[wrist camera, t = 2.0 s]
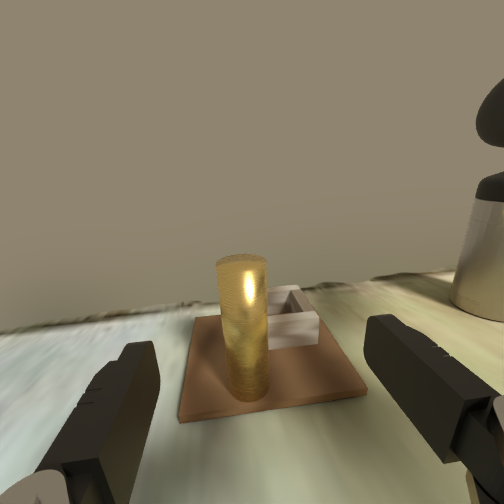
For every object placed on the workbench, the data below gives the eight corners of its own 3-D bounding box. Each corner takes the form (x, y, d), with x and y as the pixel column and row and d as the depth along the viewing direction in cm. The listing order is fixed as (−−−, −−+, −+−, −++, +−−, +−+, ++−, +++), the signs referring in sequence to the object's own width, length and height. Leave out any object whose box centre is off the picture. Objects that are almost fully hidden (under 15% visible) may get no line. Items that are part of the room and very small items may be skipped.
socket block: (311, 309, 40) (312, 283, 38) (366, 395, 25) (372, 356, 23) (196, 322, 38) (192, 295, 36) (179, 423, 23) (171, 384, 21)
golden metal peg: (265, 364, 28) (261, 252, 23) (273, 399, 24) (270, 270, 19) (227, 369, 27) (216, 256, 23) (229, 405, 23) (215, 275, 18)
